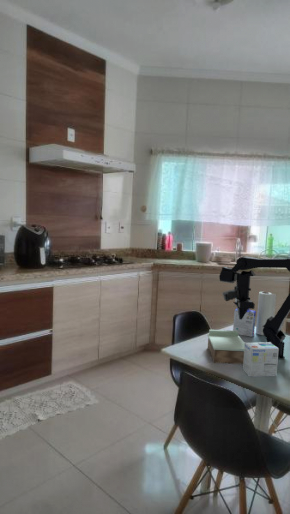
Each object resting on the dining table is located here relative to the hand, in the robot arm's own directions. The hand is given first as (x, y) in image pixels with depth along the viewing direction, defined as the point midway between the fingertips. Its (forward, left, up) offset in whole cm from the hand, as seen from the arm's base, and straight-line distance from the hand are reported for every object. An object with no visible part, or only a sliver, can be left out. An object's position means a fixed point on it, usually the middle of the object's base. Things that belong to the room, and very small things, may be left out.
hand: (240, 319), depth 153 cm
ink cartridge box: (-7, -18, -13) cm, 23 cm away
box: (+8, +12, -12) cm, 19 cm away
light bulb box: (-1, +27, -13) cm, 30 cm away
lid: (+8, +12, -7) cm, 16 cm away
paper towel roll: (-17, -19, -13) cm, 28 cm away
